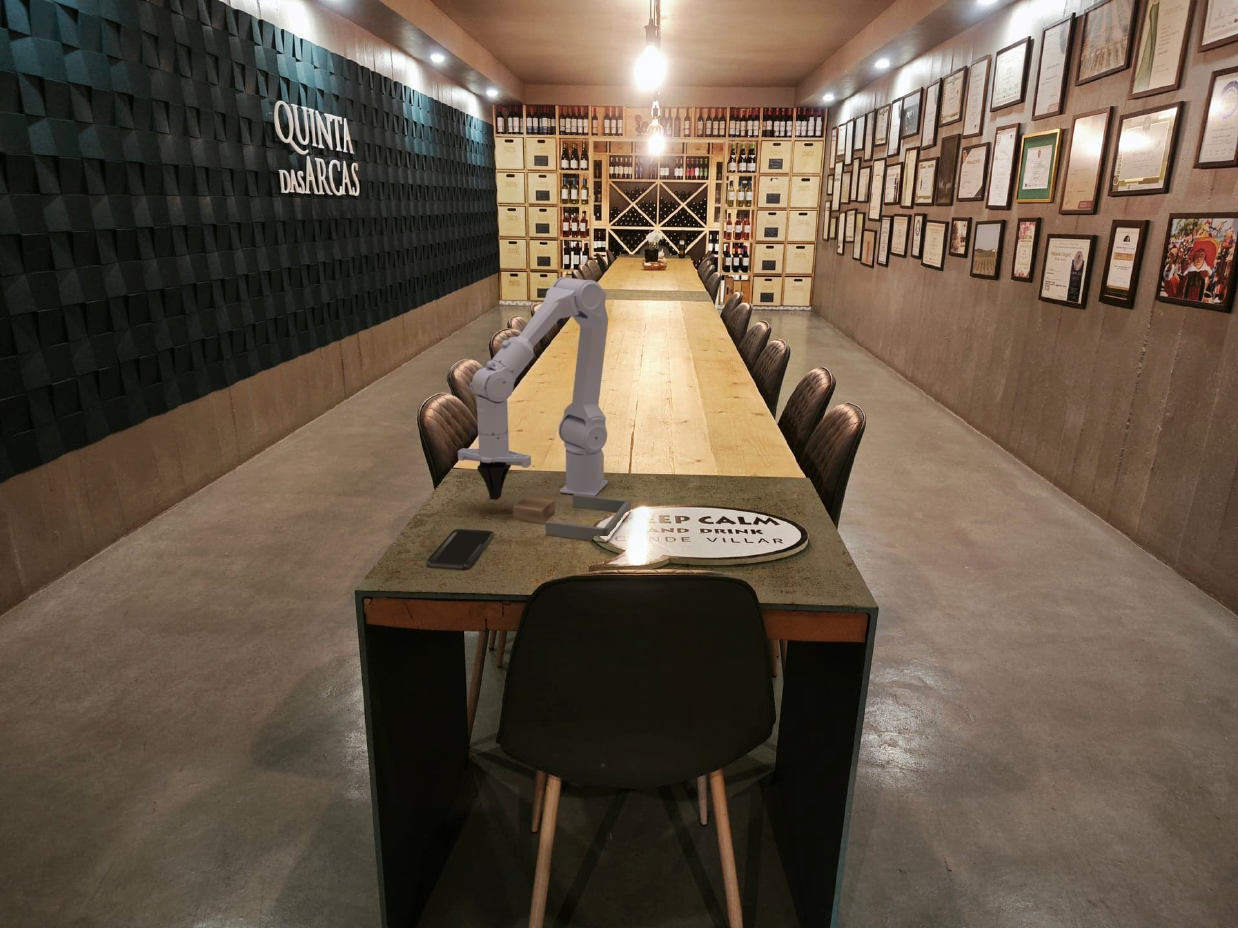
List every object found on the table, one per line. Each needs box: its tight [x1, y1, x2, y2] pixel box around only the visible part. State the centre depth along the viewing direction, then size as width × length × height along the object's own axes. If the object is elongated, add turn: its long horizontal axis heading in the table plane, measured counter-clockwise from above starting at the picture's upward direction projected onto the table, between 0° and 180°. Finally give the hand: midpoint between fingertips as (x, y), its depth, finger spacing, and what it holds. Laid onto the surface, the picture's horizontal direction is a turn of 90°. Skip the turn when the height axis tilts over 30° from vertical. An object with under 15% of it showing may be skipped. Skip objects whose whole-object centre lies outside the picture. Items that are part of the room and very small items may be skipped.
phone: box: [426, 528, 495, 571], centre depth 138 cm, size 8×1×15 cm
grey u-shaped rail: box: [545, 494, 632, 542], centre depth 149 cm, size 16×12×2 cm
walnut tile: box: [512, 496, 555, 525], centre depth 153 cm, size 6×6×3 cm
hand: (495, 497), depth 154 cm, fingers closed
